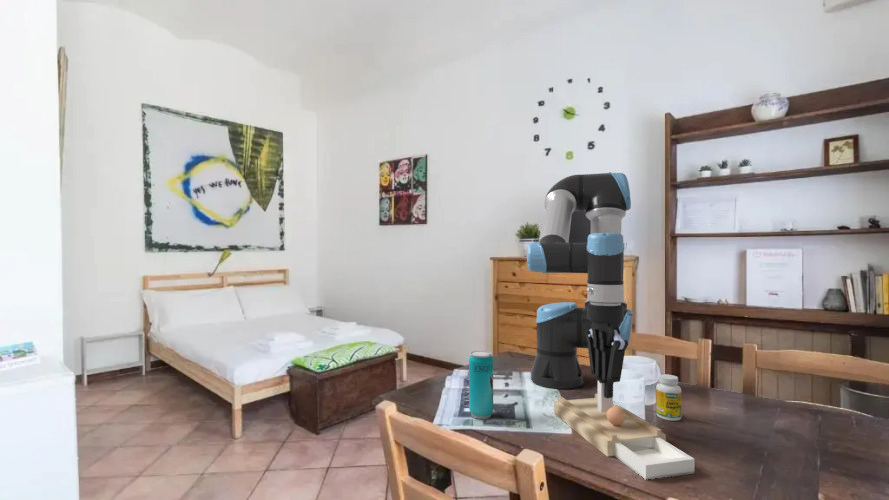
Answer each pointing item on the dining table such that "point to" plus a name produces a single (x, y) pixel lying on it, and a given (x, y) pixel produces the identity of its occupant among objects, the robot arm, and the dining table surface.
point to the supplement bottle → (668, 398)
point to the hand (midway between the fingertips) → (605, 410)
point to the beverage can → (481, 384)
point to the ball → (615, 416)
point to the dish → (654, 459)
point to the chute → (604, 424)
